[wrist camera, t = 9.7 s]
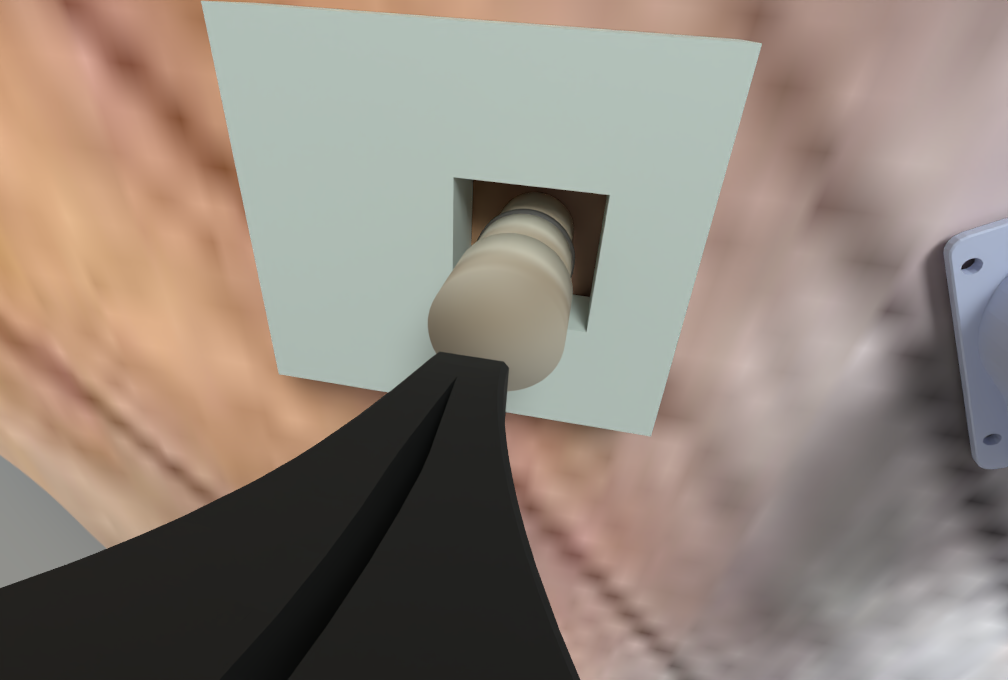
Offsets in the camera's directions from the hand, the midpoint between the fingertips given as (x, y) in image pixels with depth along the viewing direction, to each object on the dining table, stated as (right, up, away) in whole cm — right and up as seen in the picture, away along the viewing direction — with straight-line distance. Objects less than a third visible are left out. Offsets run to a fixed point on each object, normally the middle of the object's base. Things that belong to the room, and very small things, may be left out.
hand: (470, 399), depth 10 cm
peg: (+2, +5, +8) cm, 9 cm away
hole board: (0, +5, +8) cm, 10 cm away
